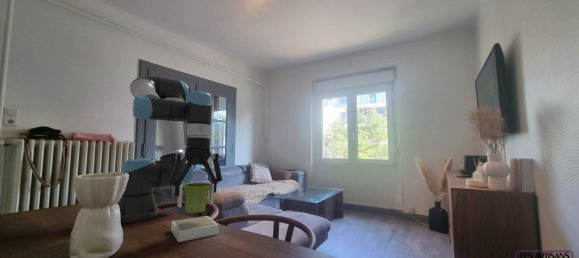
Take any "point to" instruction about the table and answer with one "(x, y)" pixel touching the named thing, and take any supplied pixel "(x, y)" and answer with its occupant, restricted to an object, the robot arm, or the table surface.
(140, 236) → the table surface
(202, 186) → the plant pot
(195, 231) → the pedestal
